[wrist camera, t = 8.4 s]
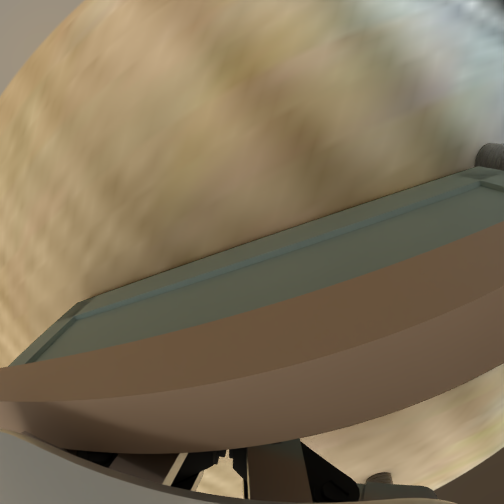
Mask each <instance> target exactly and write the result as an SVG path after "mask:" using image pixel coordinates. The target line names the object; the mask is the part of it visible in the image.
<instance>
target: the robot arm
mask: <svg viewBox="0 0 504 504" xmlns="http://www.w3.org/2000/svg"><path fill="white" fill-rule="evenodd" d="M225 454H226V450H218V451H207V452H192V453H170V454H129V453H107V452H93V451H82V450H73V449H65V448H60V447H58V446H55V445H53V444H51V443H49V442H47V441H45V440H43V439H40V438H38V437H36V436H34V435H32V434H30V433H29V432H27V431H23V432H22V433H19V432H15V431H11V430H7V429H1V428H0V504H456V503H453V502H448V501H444V500H438V499H437V495H436V494H435V493H434V491H433V490H431V489H430V488H428V487H424V486H412V485H395V484H383V483H373V482H366V483H365V484H357V483H356V482H355V481H353V480H352V479H351V478H350V477H349V476H347V475H346V474H344V473H343V472H341V471H340V470H339V469H337V468H336V467H334V466H333V465H331V464H330V463H329V462H327V461H326V460H325V459H323V458H322V457H321V456H319V455H318V454H316V453H315V452H314V451H312V450H311V449H310V448H309V447H307V446H306V445H305V444H303V443H302V442H301V441H300V438H298V439H293V440H288V441H283V442H277V443H271V444H265V445H259V446H252V447H245V448H237V449H229V458H233V469H234V470H235V471H236V472H237V473H238V474H239V475H240V476H241V477H242V478H243V499H241V498H232V497H225V496H218V495H212V494H206V493H201V492H195V491H196V489H197V487H198V485H199V483H200V481H201V479H202V477H203V473H204V470H205V469H207V468H209V467H211V466H213V465H214V464H218V459H219V457H225Z"/></svg>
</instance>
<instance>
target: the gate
mask: <svg viewBox="0 0 504 504" xmlns="http://www.w3.org/2000/svg"><path fill="white" fill-rule="evenodd" d="M503 363H504V171H503V170H497V169H492V168H486V167H481V166H477V167H474V168H471V169H468V170H465V171H462V172H459V173H456V174H453V175H450V176H447V177H443V178H440V179H437V180H434V181H431V182H428V183H425V184H422V185H419V186H416V187H413V188H410V189H407V190H404V191H401V192H398V193H395V194H392V195H389V196H386V197H383V198H380V199H377V200H374V201H371V202H368V203H365V204H362V205H359V206H356V207H353V208H350V209H347V210H344V211H341V212H338V213H335V214H332V215H329V216H326V217H323V218H320V219H317V220H314V221H311V222H308V223H305V224H302V225H299V226H296V227H293V228H290V229H287V230H284V231H281V232H279V233H276V234H273V235H270V236H267V237H264V238H261V239H258V240H255V241H252V242H249V243H246V244H243V245H241V246H238V247H235V248H232V249H229V250H226V251H223V252H220V253H217V254H214V255H212V256H209V257H206V258H203V259H200V260H197V261H194V262H191V263H189V264H186V265H183V266H180V267H177V268H174V269H171V270H169V271H166V272H163V273H160V274H157V275H154V276H151V277H149V278H146V279H143V280H140V281H137V282H134V283H132V284H129V285H126V286H123V287H120V288H118V289H115V290H112V291H109V292H106V293H103V294H101V295H98V296H95V297H92V298H89V299H87V300H84V301H81V302H78V303H77V304H76V305H74V306H73V307H72V308H71V309H70V310H69V311H67V312H66V313H65V314H64V315H63V316H62V317H61V318H60V319H58V320H57V321H56V322H55V323H54V324H53V325H52V326H51V327H49V328H48V329H47V330H46V331H45V332H44V333H43V334H42V335H41V336H40V337H39V338H37V339H36V340H35V341H34V342H33V343H32V344H31V345H30V346H29V347H28V348H27V349H26V350H25V351H24V352H22V353H21V354H20V355H19V356H18V357H17V358H16V359H15V360H14V361H13V362H12V363H11V364H10V365H9V366H8V367H4V368H0V428H1V429H7V430H11V431H15V432H19V433H22V432H23V431H27V432H29V433H30V434H32V435H34V436H36V437H38V438H40V439H43V440H45V441H47V442H49V443H51V444H53V445H55V446H58V447H60V448H65V449H73V450H82V451H93V452H107V453H129V454H170V453H192V452H207V451H218V450H228V449H237V448H245V447H252V446H259V445H265V444H271V443H277V442H283V441H288V440H293V439H298V438H303V437H308V436H312V435H317V434H321V433H325V432H329V431H333V430H337V429H341V428H344V427H348V426H352V425H355V424H359V423H362V422H365V421H369V420H372V419H375V418H378V417H381V416H384V415H387V414H390V413H393V412H396V411H399V410H402V409H404V408H407V407H410V406H412V405H415V404H418V403H420V402H423V401H425V400H428V399H430V398H432V397H435V396H437V395H440V394H442V393H444V392H446V391H449V390H451V389H453V388H455V387H458V386H460V385H462V384H464V383H466V382H468V381H470V380H472V379H474V378H476V377H478V376H480V375H482V374H484V373H486V372H488V371H490V370H492V369H493V368H495V367H497V366H499V365H501V364H503Z"/></svg>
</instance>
